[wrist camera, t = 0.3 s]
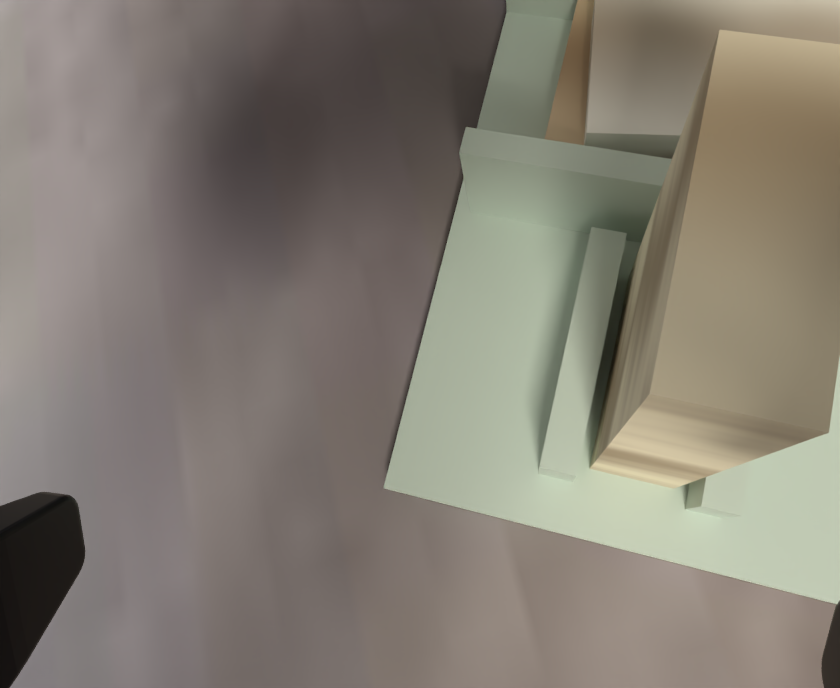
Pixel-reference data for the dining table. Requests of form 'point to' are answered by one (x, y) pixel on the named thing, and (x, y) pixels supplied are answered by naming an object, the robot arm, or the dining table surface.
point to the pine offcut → (573, 81)
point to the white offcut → (674, 60)
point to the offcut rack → (577, 353)
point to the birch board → (734, 274)
